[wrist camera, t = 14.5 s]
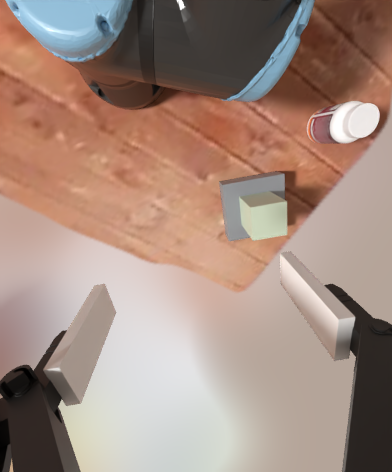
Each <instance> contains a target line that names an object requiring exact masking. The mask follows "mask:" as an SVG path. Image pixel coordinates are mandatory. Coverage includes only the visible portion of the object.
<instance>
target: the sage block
mask: <svg viewBox="0 0 392 472" xmlns="http://www.w3.org/2000/svg"><path fill="white" fill-rule="evenodd" d="M239 202H240V212H241V223H242V226H243V227H244V229H245V230H246V232H247V233H248V234H249V236H250V237H251V239H252V240H253V241H254V240H260V239H266V238H271V237H277V236H283V235H287V201H286V200H284V199H282V198H281V197H279V196H277V195H275V194H274V193H272V192H270V191H267V192H262V193H256V194H251V195H245V196H239Z"/></svg>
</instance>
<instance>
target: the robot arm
mask: <svg viewBox="0 0 392 472" xmlns="http://www.w3.org/2000/svg"><path fill="white" fill-rule="evenodd" d="M6 2H7V4H8V5H9V7H10V9H11V10H12V12H13V13H14V15H15V16H16V17H17V19H18V20H19V21H20V23H21V24H22V25H23V26H24V27H25V28H26V29H27V31H28V32H29V33H31V34H32V35H33V36H34V37H35V38H36V39H37V40H38V41H39V43H40V44H41V45H42V46H43V47H45V48H46V49H47V50H48V51H49V52H51V53H53V54H54V55H55V56H57V57H60V58H62V59H63V60H65V61H66V62H68V63H69V64H71V65H72V66H74V67H75V68H77V69H78V70H79V71H80V73H81V75H82V77H83V79H84V80H85V82H86V83H87V85H88V86H89V87H90V88H91V90H92V91H93V92H94V93H95V94H96V95H98V96H99V97H100V98H101V99H103V100H104V101H106V102H108V103H110V104H111V105H114V106H116V107H119V108H123V109H139V108H142V107H145V106H147V105H149V104H151V103H152V102H153V101H155V100H156V99H157V98H158V97H159V95H160V94H161V93H162V91H163V90H164V88H165V87H167V88H172V89H177V90H181V91H186V92H191V93H196V94H201V95H205V96H210V97H215V98H220V99H221V100H223V101H231V100H236V101H244V102H253V101H256V100H258V99H260V98H262V97H263V96H265V95H266V94H267V93H268V92H269V91H270V90H271V89H272V88H273V87H274V86H275V84H276V83H277V82H278V80H279V79H280V78H281V76H282V75H283V73H284V72H285V70H286V69H287V67H288V65H289V64H290V62H291V60H292V58H293V56H294V54H295V52H296V50H297V48H298V46H299V44H300V35H301V33H302V32H303V30H304V29H305V27H306V26H307V24H308V21H309V18H310V16H311V12H312V9H313V6H314V2H315V0H6ZM280 266H281V267H280V269H281V285H282V286H283V288H284V289H285V291H286V292H287V294H288V295H289V297H290V298H291V299H292V301H293V302H294V304H295V305H296V306H297V308H298V309H299V311H300V312H301V314H302V315H303V317H304V318H305V320H306V321H307V323H308V324H309V325H310V327H311V328H312V330H313V331H314V333H315V334H316V335H317V337H318V338H319V340H320V341H321V343H322V344H323V346H324V347H325V349H326V350H327V351H328V353H329V354H330V356H331V357H332V359H333V360H334V361H336V360H342V359H347V358H349V355H350V350H351V351H352V353H353V354H354V355H355V356H356V361H355V367H354V378H353V387H352V394H351V402H350V411H349V419H348V427H347V435H346V443H345V452H344V460H343V468H342V472H392V325H391V324H389V323H388V322H386V321H383V320H380V319H375V318H373V317H372V316H371V315H370V314H368V313H367V312H366V311H365V310H364V309H363V308H362V307H361V306H360V305H359V304H358V303H356V302H355V301H354V300H353V299H352V298H351V297H350V296H348V294H347V293H346V292H344V291H343V290H342V289H341V288H340V287H338V286H336V285H334V284H328V285H323V284H322V283H321V282H320V281H319V280H318V279H317V278H316V277H315V276H314V275H313V274H312V273H311V272H310V271H309V270H308V269H307V268H306V267H305V266H304V264H303V263H302V262H301V261H299V259H298V258H297V257H296V256H294V254H293V253H292V252H291V251H290V252H283V253H280ZM115 314H116V311H115V309H114V306H113V304H112V301H111V299H110V296H109V294H108V291H107V289H106V286H105V284H101V285H96V286H94V287H93V289H92V291H91V292H90V294H89V296H88V297H87V299H86V300H85V302H84V304H83V306H82V307H81V309H80V310H79V312H78V314H77V315H76V317H75V319H74V320H73V322H72V323H71V325H70V327H69V328H68V330H66V331H62V332H61V333H60V334H59V335H58V336H57V337H56V338H55V339H54V340H53V342H52V344H51V345H50V347H49V348H48V349H47V351H46V354H44V355H43V357H42V359H41V360H40V362H39V363H38V365H37V366H36V368H35V369H34V371H33V370H32V368H31V367H30V366H29V365H22V366H19V367H17V368H15V369H13V370H12V371H10V372H9V373H7V374H6V376H4V377H3V378H2V380H1V381H0V394H1V395H2V396H3V398H1V399H0V472H9V470H10V465H11V459H12V462H13V471H14V472H80V469H79V466H78V463H77V460H76V457H75V454H74V451H73V448H72V445H71V442H70V438H69V436H68V432H67V430H66V427H65V424H64V420H63V417H62V415H61V412H60V410H59V408H58V405H59V403H60V401H61V399H62V400H63V401H64V403H65V405H66V406H68V405H75V404H80V403H81V402H82V399H83V396H84V394H85V391H86V388H87V386H88V384H89V381H90V378H91V376H92V373H93V371H94V368H95V366H96V363H97V360H98V358H99V355H100V353H101V350H102V347H103V345H104V342H105V340H106V337H107V335H108V332H109V329H110V327H111V324H112V321H113V319H114V316H115Z"/></svg>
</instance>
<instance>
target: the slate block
mask: <svg viewBox="0 0 392 472" xmlns="http://www.w3.org/2000/svg"><path fill="white" fill-rule="evenodd" d="M219 184H220V192H221V200H222V208H223V216H224V224H225V232H226V236H227V238H228V240H229V241H233V240H239V239H245V238H250V236H249V234H248V233H247V232H246V230H245V229H244V227H243V226H242V223H241V212H240V202H239V196H245V195H251V194H256V193H262V192H267V191H270V192H272V193H274V194H275V195H277V196H279V197H281V198H282V199H284V200H285V174H284V173H281V172H277V171H275V172H269V173H264V174H258V175H253V176H247V177H242V178H236V179H231V180H225V181H219Z"/></svg>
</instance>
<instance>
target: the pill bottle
mask: <svg viewBox="0 0 392 472" xmlns="http://www.w3.org/2000/svg"><path fill="white" fill-rule="evenodd" d="M379 117H380V114H379V110H378V108H377V107H376V106H375V105H374V104H371V103H362V102H360V101H350V102H346V103H342V104H338V105H334V106H330V107H326V108H322V109H320V110H318V111H316V112H315V113H314V114H313V115H312V116H311V118H310V120H309V122H308V125H307V134H308V137H309V138H310V140H312V141H313V142H315V143H321V144H322V143H350V142H353V141H355V140H357V139H358V138H363V137H366V136H368V135H369V134H371V133H372V132H373V131H374V129H375V128H376V126H377V124H378V122H379Z"/></svg>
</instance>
